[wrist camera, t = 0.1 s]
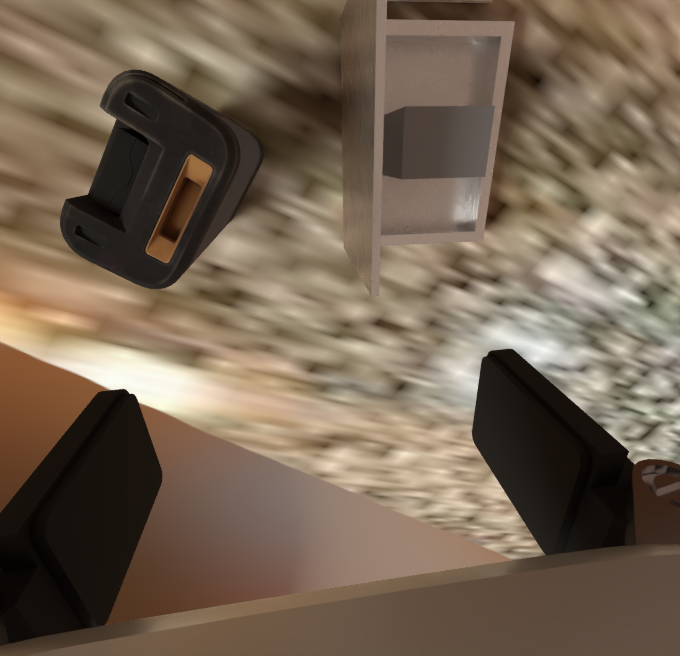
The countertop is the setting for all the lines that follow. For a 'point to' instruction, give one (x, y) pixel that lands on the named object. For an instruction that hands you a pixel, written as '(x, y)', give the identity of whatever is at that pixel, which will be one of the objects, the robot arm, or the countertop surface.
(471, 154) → the block
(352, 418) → the countertop surface
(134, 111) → the electronic device
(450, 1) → the flat beige panel
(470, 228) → the case
